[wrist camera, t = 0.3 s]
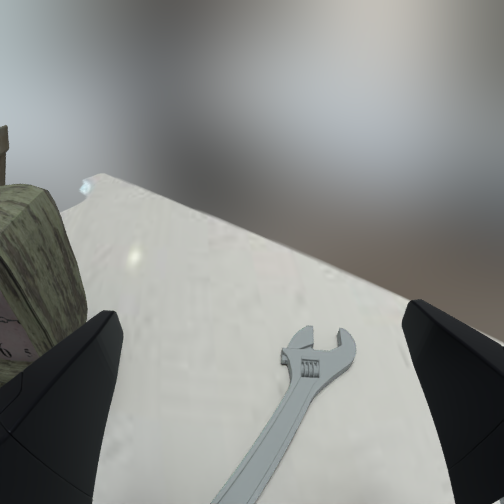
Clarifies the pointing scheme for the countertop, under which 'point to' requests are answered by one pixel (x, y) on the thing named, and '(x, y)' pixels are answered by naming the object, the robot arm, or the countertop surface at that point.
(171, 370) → the countertop surface
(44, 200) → the tabletop clock
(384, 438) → the countertop surface
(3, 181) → the plant pot
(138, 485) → the countertop surface
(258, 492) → the adjustable wrench
